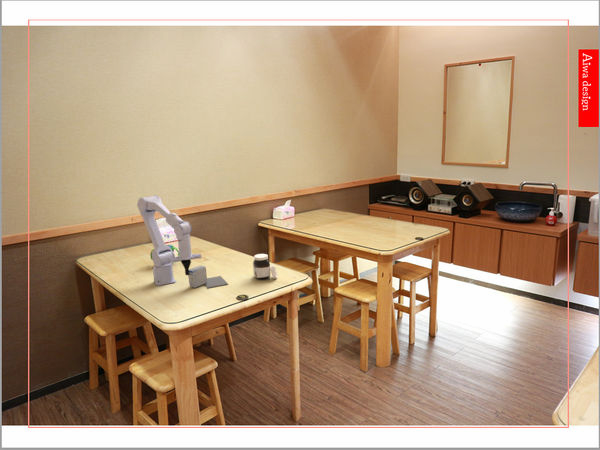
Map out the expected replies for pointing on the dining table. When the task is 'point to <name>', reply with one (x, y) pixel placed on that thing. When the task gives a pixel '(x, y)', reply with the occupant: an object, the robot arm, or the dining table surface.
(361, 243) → the dining table surface
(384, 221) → the dining table surface
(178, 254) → the snack cup
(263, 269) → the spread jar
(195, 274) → the medicine box
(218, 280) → the mat
